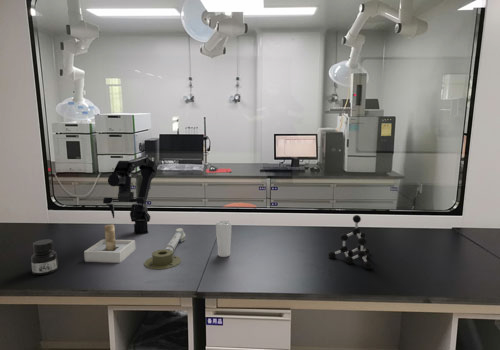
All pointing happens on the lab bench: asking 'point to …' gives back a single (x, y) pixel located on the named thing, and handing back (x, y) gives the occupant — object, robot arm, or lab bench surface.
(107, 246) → the peg
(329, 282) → the lab bench surface
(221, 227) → the drinking glass
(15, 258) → the lab bench surface
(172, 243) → the light grey piece
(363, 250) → the molecular model
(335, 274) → the lab bench surface
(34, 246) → the ink bottle
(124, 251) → the box
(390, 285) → the lab bench surface
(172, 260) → the flange
